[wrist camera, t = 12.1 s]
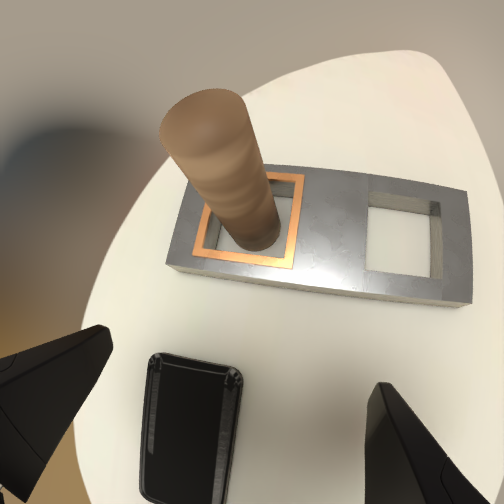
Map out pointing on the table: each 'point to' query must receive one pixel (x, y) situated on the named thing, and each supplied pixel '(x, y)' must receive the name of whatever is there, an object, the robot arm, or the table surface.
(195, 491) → the phone
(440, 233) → the plate with square holes
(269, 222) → the peg
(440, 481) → the robot arm
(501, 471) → the table surface
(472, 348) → the table surface
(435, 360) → the table surface
